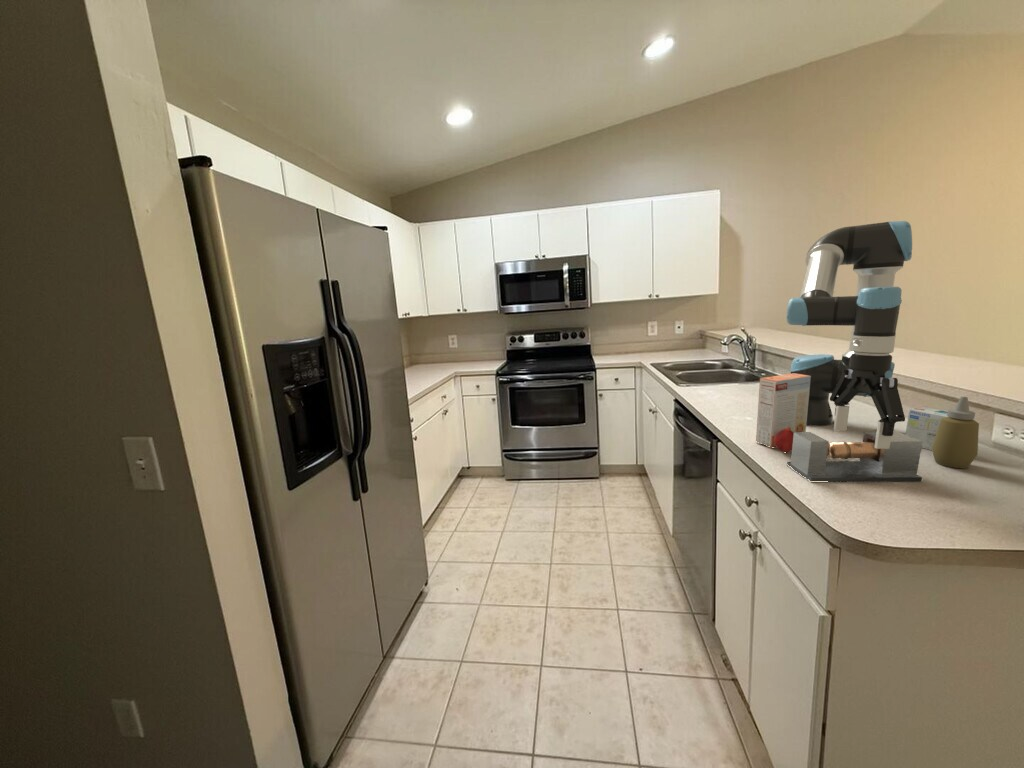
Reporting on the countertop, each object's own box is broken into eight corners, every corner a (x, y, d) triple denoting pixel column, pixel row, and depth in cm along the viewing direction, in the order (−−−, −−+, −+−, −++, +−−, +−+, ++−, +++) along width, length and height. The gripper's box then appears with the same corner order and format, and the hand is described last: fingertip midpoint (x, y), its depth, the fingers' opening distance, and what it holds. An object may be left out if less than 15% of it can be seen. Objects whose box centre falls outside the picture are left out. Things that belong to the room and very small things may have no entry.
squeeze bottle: (965, 473, 100) (979, 402, 96) (922, 462, 107) (934, 396, 103) (981, 466, 103) (995, 398, 99) (938, 456, 110) (949, 392, 106)
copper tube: (823, 455, 104) (825, 439, 103) (898, 454, 103) (901, 438, 102) (835, 462, 100) (837, 445, 99) (913, 461, 98) (916, 444, 97)
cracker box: (787, 436, 130) (793, 372, 126) (805, 442, 124) (812, 375, 120) (753, 442, 126) (759, 376, 121) (771, 449, 120) (777, 380, 116)
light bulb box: (965, 452, 112) (972, 414, 110) (949, 455, 110) (956, 417, 108) (918, 440, 122) (923, 405, 120) (902, 443, 120) (908, 408, 118)
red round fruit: (775, 455, 115) (778, 429, 113) (770, 448, 120) (773, 423, 119) (800, 457, 113) (803, 430, 111) (793, 450, 118) (796, 424, 117)
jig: (786, 465, 108) (790, 430, 106) (886, 464, 106) (892, 428, 104) (810, 482, 99) (815, 443, 96) (921, 481, 96) (928, 442, 94)
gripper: (819, 348, 108) (811, 423, 113) (899, 361, 84) (884, 457, 88) (849, 347, 108) (839, 423, 112) (938, 360, 83) (921, 457, 88)
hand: (859, 438), depth 100 cm, fingers open, 13 cm apart
